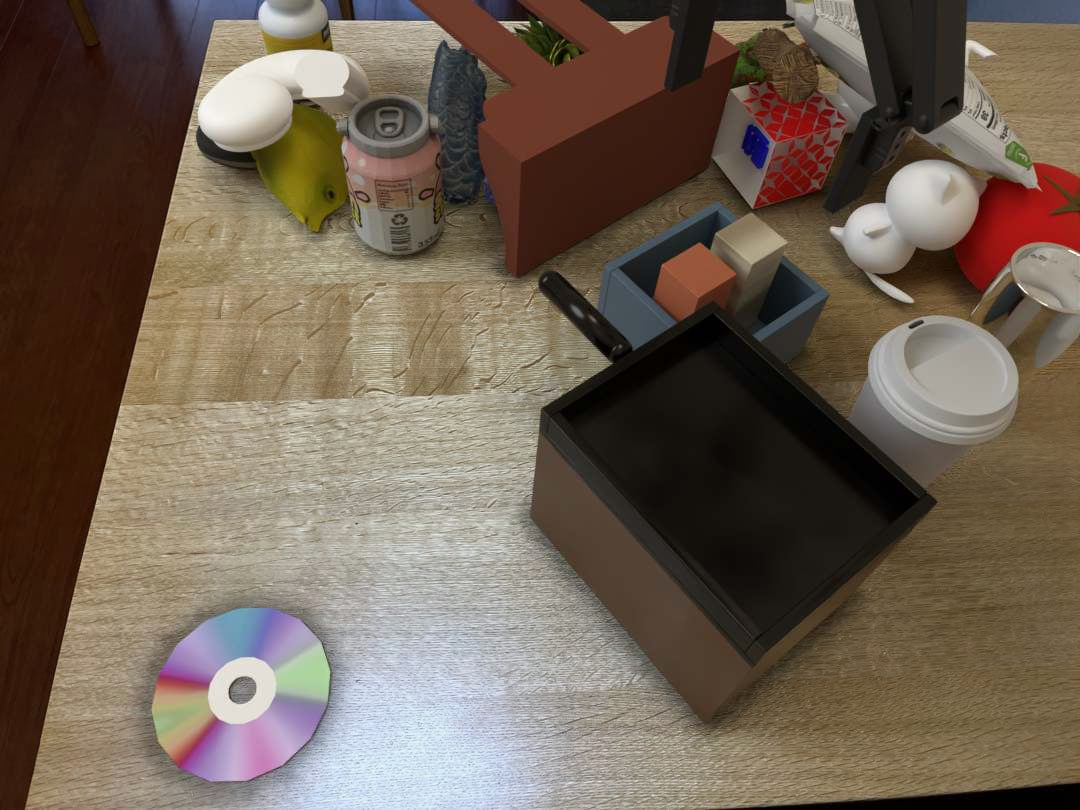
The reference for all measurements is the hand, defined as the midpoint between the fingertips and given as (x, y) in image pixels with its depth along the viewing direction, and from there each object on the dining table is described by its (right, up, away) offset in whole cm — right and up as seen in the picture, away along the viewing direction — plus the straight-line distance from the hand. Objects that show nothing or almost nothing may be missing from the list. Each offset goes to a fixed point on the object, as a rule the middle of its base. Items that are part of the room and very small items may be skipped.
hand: (758, 139), depth 54 cm
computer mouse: (-41, +11, +28) cm, 50 cm away
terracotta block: (-2, -12, +19) cm, 23 cm away
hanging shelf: (-6, +4, +22) cm, 23 cm away
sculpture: (-35, +9, +23) cm, 42 cm away
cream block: (+2, -9, +21) cm, 23 cm away
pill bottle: (-37, +16, +36) cm, 54 cm away
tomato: (+28, -4, +27) cm, 39 cm away
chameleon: (+18, +17, +28) cm, 37 cm away
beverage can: (-26, 0, +26) cm, 37 cm away
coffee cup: (+12, -22, +14) cm, 29 cm away
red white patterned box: (+9, +6, +33) cm, 35 cm away
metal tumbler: (+21, -16, +19) cm, 33 cm away
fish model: (-22, +10, +34) cm, 41 cm away
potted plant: (-11, +11, +34) cm, 38 cm away
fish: (-39, +6, +23) cm, 46 cm away
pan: (-5, -24, +11) cm, 27 cm away
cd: (-33, -35, +2) cm, 48 cm away
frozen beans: (+7, +19, +19) cm, 28 cm away
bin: (0, -11, +21) cm, 23 cm away
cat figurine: (+15, -4, +26) cm, 31 cm away
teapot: (+21, +10, +33) cm, 41 cm away
